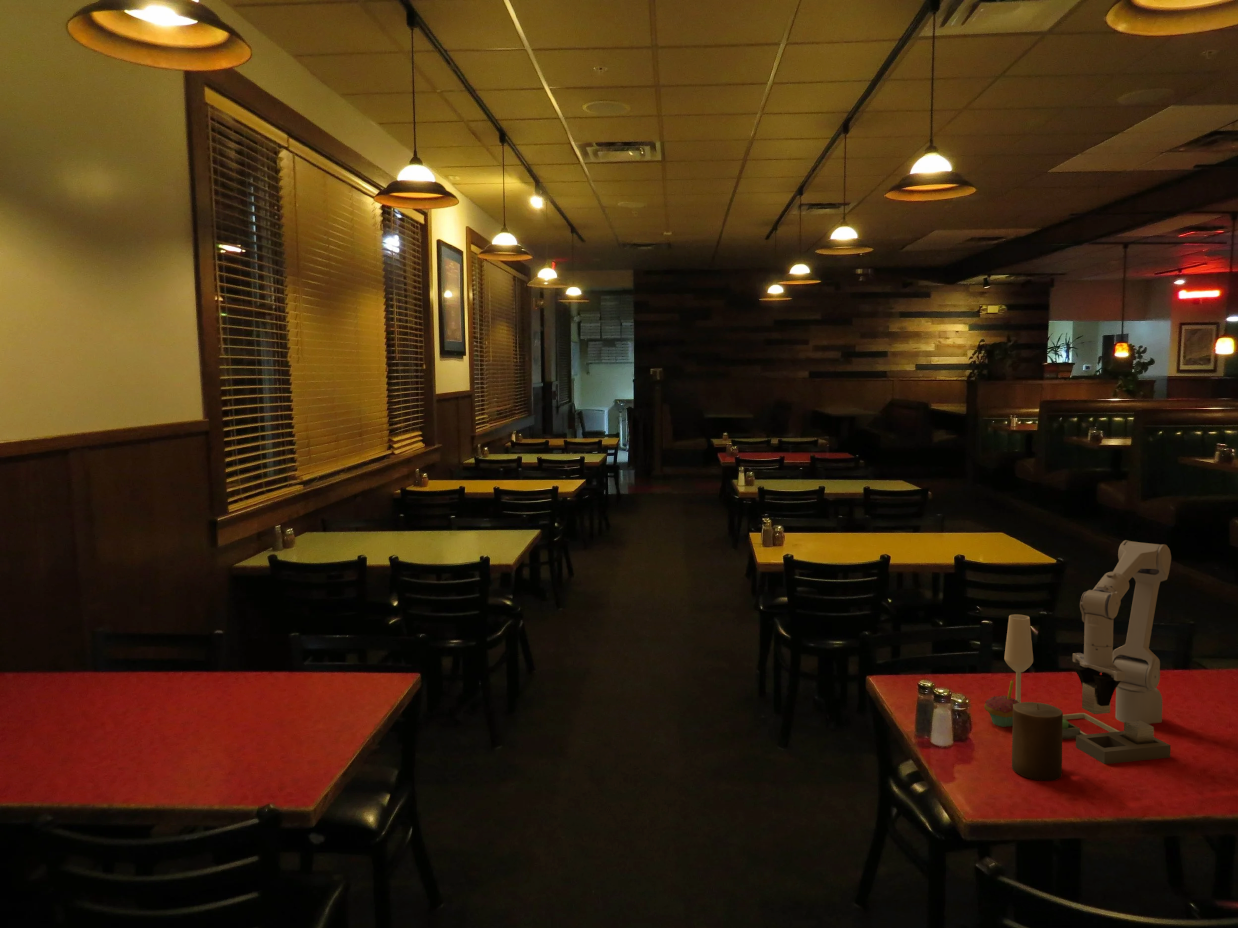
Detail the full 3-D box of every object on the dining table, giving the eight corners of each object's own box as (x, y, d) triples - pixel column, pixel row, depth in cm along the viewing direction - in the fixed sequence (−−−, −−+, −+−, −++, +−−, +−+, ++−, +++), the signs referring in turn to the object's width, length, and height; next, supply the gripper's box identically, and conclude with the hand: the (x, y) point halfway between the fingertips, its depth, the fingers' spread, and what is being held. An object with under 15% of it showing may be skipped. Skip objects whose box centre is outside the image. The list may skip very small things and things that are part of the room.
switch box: (1062, 730, 204) (1062, 718, 203) (1079, 740, 198) (1080, 728, 197) (1039, 732, 203) (1039, 720, 202) (1056, 742, 197) (1056, 730, 197)
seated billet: (1139, 745, 192) (1140, 720, 192) (1153, 753, 188) (1153, 726, 188) (1123, 747, 192) (1124, 721, 191) (1136, 754, 188) (1137, 728, 187)
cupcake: (1020, 720, 210) (1021, 673, 209) (1024, 734, 202) (1025, 684, 201) (982, 717, 213) (983, 670, 212) (985, 730, 205) (986, 681, 204)
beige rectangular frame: (1083, 719, 210) (1084, 712, 210) (1126, 742, 196) (1126, 734, 196) (1050, 722, 209) (1050, 715, 208) (1090, 745, 195) (1091, 738, 195)
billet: (1097, 706, 197) (1098, 681, 197) (1110, 712, 193) (1110, 686, 193) (1082, 707, 197) (1082, 682, 196) (1094, 714, 193) (1094, 688, 192)
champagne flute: (1024, 703, 222) (1025, 613, 220) (1037, 713, 215) (1039, 619, 213) (998, 704, 221) (999, 613, 219) (1011, 714, 215) (1012, 620, 213)
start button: (1061, 731, 202) (1061, 717, 202) (1071, 737, 199) (1072, 723, 198) (1047, 732, 202) (1047, 718, 201) (1057, 738, 198) (1057, 724, 198)
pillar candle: (1059, 785, 176) (1061, 714, 175) (1008, 774, 181) (1009, 705, 180) (1063, 767, 184) (1065, 700, 183) (1014, 758, 190) (1015, 692, 188)
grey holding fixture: (1138, 744, 195) (1139, 729, 195) (1170, 760, 186) (1170, 745, 186) (1075, 750, 193) (1075, 735, 192) (1104, 767, 184) (1104, 751, 183)
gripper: (1061, 635, 200) (1060, 692, 201) (1105, 653, 186) (1103, 714, 187) (1088, 633, 201) (1087, 689, 202) (1134, 651, 187) (1132, 711, 188)
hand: (1097, 701), depth 195 cm, fingers closed on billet, 4 cm apart
